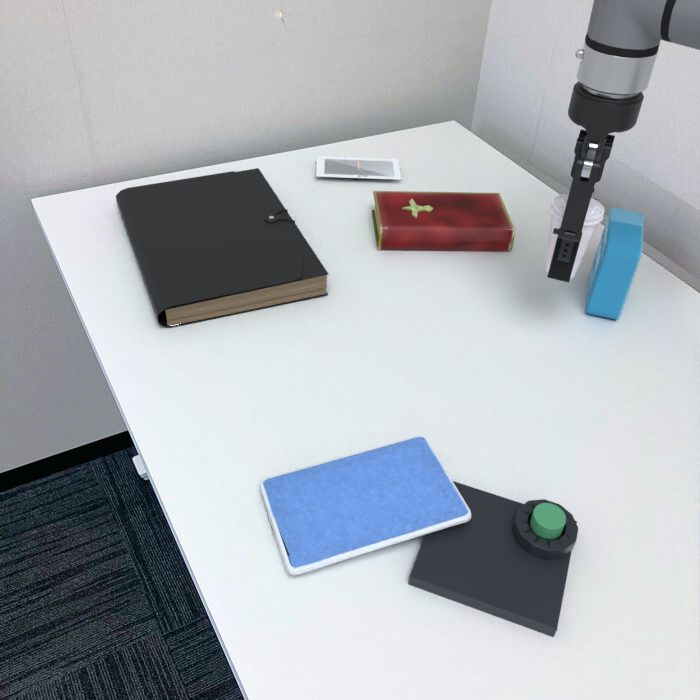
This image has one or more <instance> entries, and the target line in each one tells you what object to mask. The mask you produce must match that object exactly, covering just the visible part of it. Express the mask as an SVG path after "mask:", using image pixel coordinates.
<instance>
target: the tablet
mask: <svg viewBox="0 0 700 700" xmlns="http://www.w3.org/2000/svg"><path fill="white" fill-rule="evenodd" d="M453 481H454V480H453V479H452V478H451V476H450V474H449V473H448V471H447V469H446V467H445V466H444V465H443V463H442V461H441V460H440V458H439V456H438V454H437V453H436V451H435V449H434V448H433V446H432V444H431V443H430V441H429V439H428V438H426V437H425V436H422V435H417V436H413V437H409V438H405V439H402V440H399V441H395V442H392V443H388V444H385V445H381V446H377V447H374V448H369V449H367V450H363V451H359V452H356V453H351V454H348V455H344V456H342V457H341V456H340V457H337V458H333V459H330V460H326V461H324V462H320V463H316V464H312V465H308V466H306V467H302V468H298V469H294V470H291V471H287V472H284V473H280V474H276V475H273V476H269V477H266V478H264V479H262V480H261V482H260V483H259V491H260V495H261V498H262V500H263V504H264V507H265V511H266V513H267V516H268V519H269V522H270V525H271V528H272V531H273V535H274V537H275V541H276V543H277V546H278V549H279V552H280V555H281V558H282V561H283V565H284V567H285V569H286V572H287V573H288V574H289V575H290V576H294V577H295V576H301V575H303V574H306V573H310V572H313V571H315V570H318V569H322V568H324V567H327V566H330V565H334V564H335V563H339V562H343V561H345V560H349V559H352V558H355V557H359V556H361V555H364V554H367V553H370V552H374V551H376V550H381V549H383V548H387V547H390V546H394V545H397V544H400V543H403V542H406V541H409V540H413V539H415V538H416V539H417V538H419V537H423V536H425V534H429V533H432V532H435V531H439V530H442V529H445V528H448V527H451V526H455V525H459V524H462V523H465V522H468V521H469V520H470V519H471V511H470V509H469V507H468V506H467V504H466V502H465V501H464V499H463V497H462V496H461V494H460V492H459V491H458V489H457V488H456V486H455V484H454V483H453Z"/></svg>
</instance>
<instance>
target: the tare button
mask: <svg viewBox="0 0 700 700" xmlns="http://www.w3.org/2000/svg"><path fill="white" fill-rule="evenodd" d="M565 523H566V516H565V513H564V512H563V511H562V509H561V508H559V507H558V506H556V505H554V504H551V503H541V504H539V505H537V506H536V507H535V508H534V511H533V514H532V517H531V520H530V526H531V529H532V531H533V532H534V533H535V534H536V535H537V536H539V537H541V538H544V539H555V538H557V537H559V536H560V535H561V533H562V531H563V528H564V525H565Z"/></svg>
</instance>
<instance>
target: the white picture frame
mask: <svg viewBox="0 0 700 700" xmlns="http://www.w3.org/2000/svg"><path fill="white" fill-rule="evenodd" d="M399 162H400V161H399V158H380V157H379V158H377V157H354V156H353V157H352V156H351V157H350V156H326V155H324V156H323V155H316V164H315V165H316V167H315V168H316V169H315V177H317V178H319V177H321V178H343V179H344V178H346V179H371V180H372V179H374V180H397V181H399V180H400V181H401V180H402V175H401V168H400V163H399Z"/></svg>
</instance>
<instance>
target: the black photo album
mask: <svg viewBox="0 0 700 700" xmlns="http://www.w3.org/2000/svg"><path fill="white" fill-rule="evenodd" d="M115 201H116V205H117V208H118V210H119V214H120V216H121V218H122V220H121V221H122V223H123V226H124V228H125V231H126V234H127V237H128V240H129V242H130V245H131V249H132V251H133V255H134V257H135V260H136V263H137V266H138V269H139V272H140V274H141V278H142V280H143V283H144V286H145V289H146V292H147V295H148V298H149V301H150V304H151V307H152V310H153V312H154V314H155V318H156V321H157V324H159V325H160V326H162V327H164V328H172V327H171V326H170V325H175V324H179V325H181V326H186V325H190V324H195V323H200V322H205V321H208V320H215V319H219V318H223V317H229V316H232V315H239V314H242V313H247V312H251V311H252V312H253V311H257V310H262V309H266V308H271V307H275V306H281V305H286V304H290V303H296V302H299V301H303V300H305V301H306V300H309V299H314V298H319V297H323V296H328V295H329V293H328V289H327V287H328V286H327V285H328V283H327V282H328V280H327V279H328V276H329V272H328V271H327V270H326V268H325V266H324V265H323V263H322V262H321V260H320V259H319V257H318V255H317V254H316V253H315V251H314V250H313V248H312V247H311V245H310V243H309V242H308V241H307V239H306V237H305V236H304V235H303V233H302V231H301V230H300V229H299V227H298V226H297V224H296V220H294V219H293V218H292V216H291V215H290V213H289V211H288V209H286V207H285V206H284V204H283V203H282V202H281V200H280V199H279V197H278V195H277V193H276V192H275V191H274V189H273V188H272V187H271V185H270V183H269V182H268V180H267V179H266V177H265V176H264V174H263V172H262V171H261V170H260V168H259V167H257V168H250V169H245V170H237V171H235V170H233V171H225V172H219V173H213V174H205V175H200V176H194V177H193V176H192V177H188V178H182V179H175V180H169V181H163V182H155V183H150V184H143V185H137V186H130V187H126V188H123V189H122V190H120V191H119V192H117V194H116V195H115ZM180 323H181V324H180ZM185 324H186V325H185ZM176 327H178V326H177V325H176Z"/></svg>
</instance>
